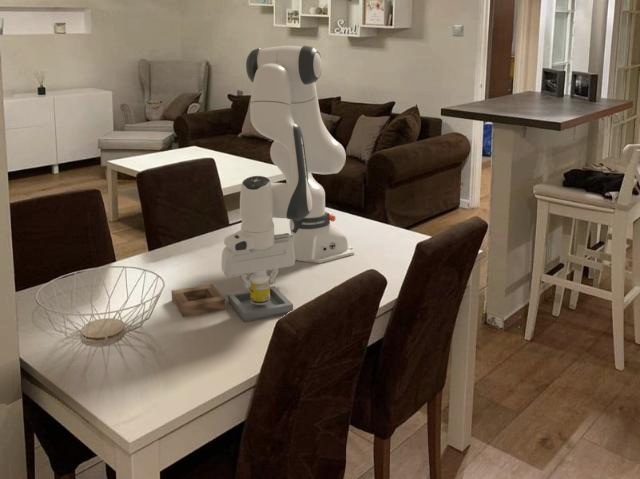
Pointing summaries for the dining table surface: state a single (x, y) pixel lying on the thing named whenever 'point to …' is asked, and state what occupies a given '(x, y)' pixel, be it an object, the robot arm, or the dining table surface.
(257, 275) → the supplement bottle
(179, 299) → the walnut collar
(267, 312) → the charcoal tray
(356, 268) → the dining table surface
